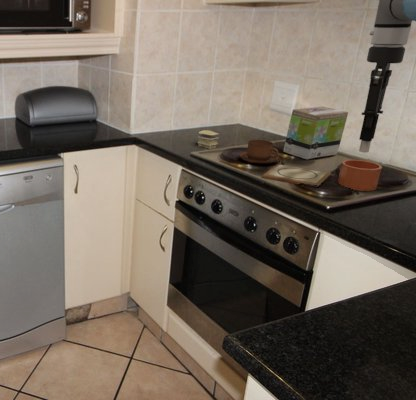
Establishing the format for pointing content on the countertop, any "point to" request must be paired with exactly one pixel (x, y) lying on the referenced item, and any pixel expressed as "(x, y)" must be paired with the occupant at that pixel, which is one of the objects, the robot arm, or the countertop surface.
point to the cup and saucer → (260, 152)
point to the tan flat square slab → (296, 175)
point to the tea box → (315, 132)
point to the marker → (365, 145)
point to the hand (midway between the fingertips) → (366, 138)
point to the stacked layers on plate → (207, 139)
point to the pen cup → (359, 175)
